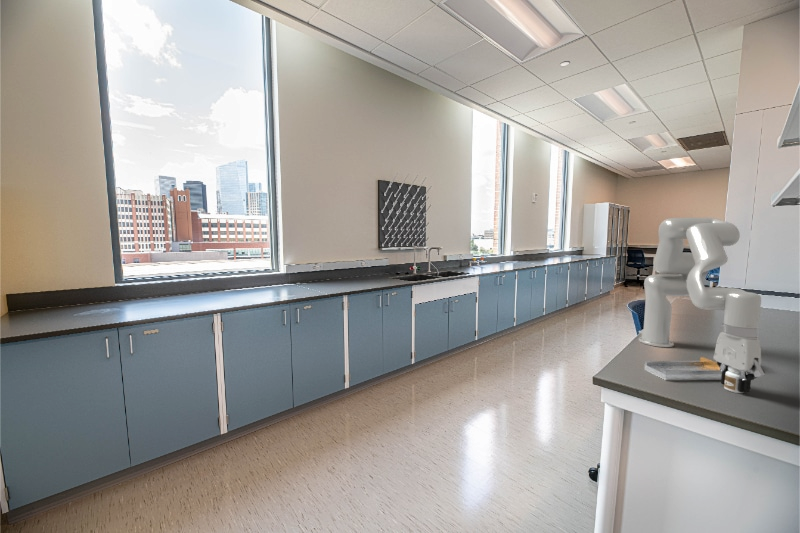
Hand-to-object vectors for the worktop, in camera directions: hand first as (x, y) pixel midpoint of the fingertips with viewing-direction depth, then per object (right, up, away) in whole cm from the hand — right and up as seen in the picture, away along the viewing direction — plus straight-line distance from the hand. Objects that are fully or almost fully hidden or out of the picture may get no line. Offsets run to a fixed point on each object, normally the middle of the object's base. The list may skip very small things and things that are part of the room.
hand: (734, 387), depth 103 cm
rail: (-5, 0, +12) cm, 13 cm away
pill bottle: (0, -1, 0) cm, 1 cm away
